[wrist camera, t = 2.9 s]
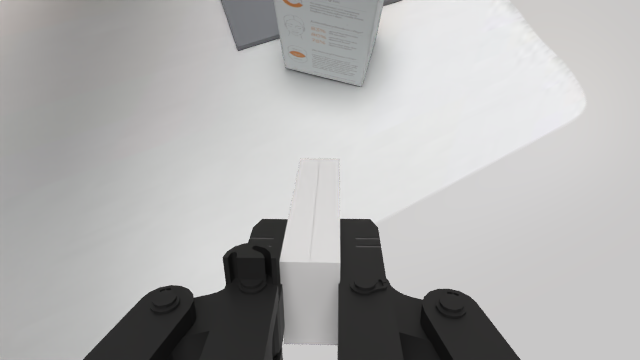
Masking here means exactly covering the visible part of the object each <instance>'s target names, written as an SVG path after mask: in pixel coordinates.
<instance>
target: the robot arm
mask: <svg viewBox="0 0 640 360" xmlns="http://www.w3.org/2000/svg"><path fill="white" fill-rule="evenodd" d="M223 263H224V271H225V279H226V286H225V289H223V290H221V291H219V292H217V293H213V294H210V295H205V296H200V297H195V298H193V294H192V292H191V291H190V290H189V289H187V288H185V287H182V286H173V285H170V286H165V287H160V288H158V289H156V290H153V291H151V292H149V293H148V294H147V295H145V296H144V297H143V298H142V299H141V300H140V301H139V302H138V303H137V304H136V305H135V306H134V307H133V308H132V309H131V310H130V311H129V312H128V313H127V314H126V315H125V316H124V317H123V318H122V319H121V320H120V322H119V323H118V324H117V325H116V326H115V327H114V328H113V329H112V330H111V331H110V332H109V333H108V334H107V335H106V336H105V337H104V338H103V339H102V340H101V341H100V342H99V343H98V344H97V345H96V346H95V348H94V349H93V350H92V351H91V352H90V353H89V354H88V355H87V356H86V357H85V358H84V359H83V360H283V358H282V342H283V335H284V344H314V345H315V344H316V345H317V344H318V345H338V360H520V358H519V357H518V356H517V355H516V354H515V352H514V351H513V349H512V348H511V347H510V345H509V344H508V343H507V342H506V340H505V339H504V338H503V337H502V335H501V334H500V333H499V331H498V330H497V329H496V328H495V326H494V325H493V323H492V322H491V321H490V320H489V318H488V317H487V316H486V314H485V313H484V312H483V311H482V309H481V308H480V307H479V306H478V304H477V303H476V302H475V301H474V300H473V299H472V298H471V297H469V296H468V295H465V294H464V293H462V292H460V291H456V290H452V289H437V290H434V291H430V292H429V293H428V294H427V295H426V296H424V299H423V300H421V299H417V298H413V297H410V296H407V295H403V294H402V293H400V292H398V291H396V290H395V289H394V288H393V287H391V285H390V283H389V281H388V280H387V279H386V276H385V269H384V263H383V257H382V250H381V244H380V238H379V232H378V227H377V226H376V225H375V224H374V223H373V222H372V221H371V220H370V219H340V169H339V159H302V158H300V162H299V167H298V172H297V177H296V182H295V187H294V192H293V197H292V202H291V207H290V212H289V216H288V219H262V220H261V221H260V222H259V223H258V224H256V225H255V226H254V227H253V230H252V233H251V236H250V239H249V242H248V243H246V244H242V245H238V246H235V247H233V248H232V249H230V250H229V251H227V252H226V254H225V255H224V256H223Z"/></svg>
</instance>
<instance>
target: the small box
mask: <svg viewBox="0 0 640 360" xmlns="http://www.w3.org/2000/svg"><path fill="white" fill-rule="evenodd" d="M383 3H384V0H274V5H275V11H276V17H277V23H278V29H279V35H280V41H281V47H282V53H283V58H284V64H285V67H286V68H289V69H293V70H297V71H301V72H305V73H309V74H313V75H317V76H321V77H325V78H329V79H333V80H337V81H341V82H345V83H349V84H353V85H358V86H362V85H363V81H364V78H365V74H366V71H367V67H368V64H369V60H370V57H371V53H372V50H373V46H374V43H375V39H376V35H377V31H378V27H379V22H380V17H381V12H382V8H383Z"/></svg>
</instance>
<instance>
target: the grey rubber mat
mask: <svg viewBox="0 0 640 360" xmlns="http://www.w3.org/2000/svg"><path fill="white" fill-rule="evenodd" d="M221 1H222V4H223V7H224V10H225V13H226V16H227V19H228V22H229V25H230V28H231V31H232V34H233V37H234V40H235V43H236V46H237V48H238V51H239V50H242V49H245V48H248V47H252V46H255V45H258V44H261V43H265V42H268V41H271V40H274V39H277V38H280V35H279V29H278V23H277V17H276V11H275V5H274V0H221ZM397 1H401V0H384V3H383V6H384V5H388V4H391V3H394V2H397Z"/></svg>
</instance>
